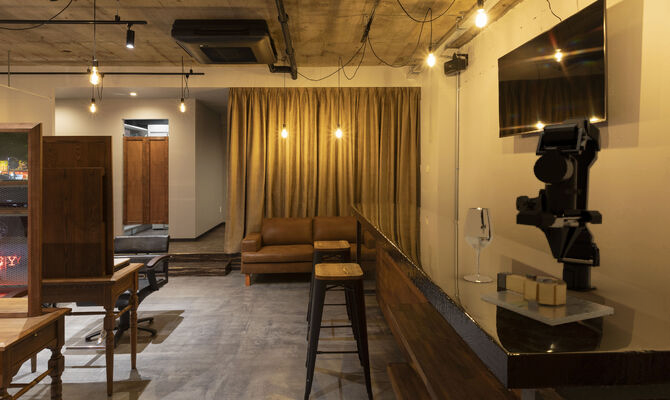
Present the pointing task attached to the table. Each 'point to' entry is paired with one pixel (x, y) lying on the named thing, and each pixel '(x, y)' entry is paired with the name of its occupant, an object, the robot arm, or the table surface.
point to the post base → (548, 306)
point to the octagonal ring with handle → (534, 288)
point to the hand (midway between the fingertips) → (558, 258)
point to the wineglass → (478, 236)
